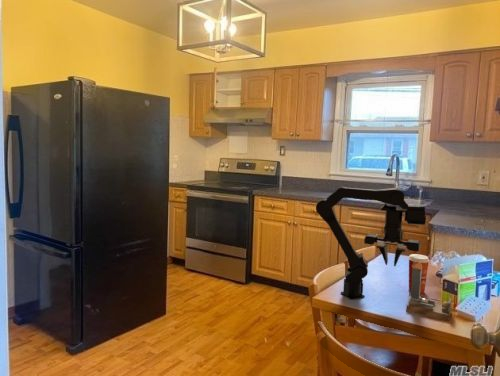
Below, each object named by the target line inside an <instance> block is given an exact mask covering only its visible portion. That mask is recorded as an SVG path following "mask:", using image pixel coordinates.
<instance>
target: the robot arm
mask: <svg viewBox="0 0 500 376" xmlns="http://www.w3.org/2000/svg"><path fill="white" fill-rule="evenodd" d="M343 199H353V200H354V199H355V200H366V201H367V200H368V201H376V202H381V203H383V205H382V206H380V208H379V209H380V211H385V216H384V217H385V218H384V227H383V237H380V236H379V234H373V233H368V234H367V235H366V236H365V237H364V239H363V240H364V241H363V243H364V244H365V245H371V246H372V245H374V244H375V243H377V245H376V248H378V249H379V251H380V254H381V255H382V258H383V261H384V264H385V266H387V265H388V263H389V257H388V255H389V254H388V248H389V245H392V246H397V248H396V249H395V255H394V261H393V267H396V266H397V263H398V261H399V260H400V257H401V255H402V253H406V251H407V250H408V251H412V252H420V250H421V249H422V242H421V240H417V239H408V240H407V241H405V240H403V239H404V230H403V222H406V224H407V225H413V226H414V225H415V226H425V225H426V222H427V221H426V220H427V215H426V207H425V205H409V203H408V202H406V201H405V194H404V192H403V191H401V189H400V188H397V187H391V188H390V187H389V188H382V189H369V188H359V187H357V188H356V187H345V186H339V187H337V189H336V190H335V191H333V192H332V193H331V194H330V195H328V197H326V198H324V197H323V198H320V199H319V200H318V202H317V203H316V206H315V210H316V213H317V215H319V216H320V218H322V220H323V221H324V222H325V223H326V224H327V225H328V227H329V228H330V230H331V233H332V234H333V235H334V237H335V239H336V241H337V243H338V245H339V246H340V247H341V250H342V251H343V253H344V255H345V256H346V259H347V263H348V266H349V267H348V268H347V269H345V277H344V279H343V291H340V294H341V295H343V296H345V297H347V298H348V299H350V300H355V299H361V298H365V296H366V295H364V292H363V291H364V282H363V281H364V280H363V279H364V278H366V277H367V276H368V272H369V271H368V267H369V264H368V263H369V262H368V260H366V258H365V256H364V254H363V252H361V253H359V252H357V251H356V249H355V247H354V245H353V244H352V242H351V240H350V238H349V237H348V235H347V234H346V232H345V229H344V228H343V226H342V225H341V223H340V222H339V220H338V217H337V213H336V210H335V206H336V205H337V204H338V203H339V202H340V201H342V200H343ZM397 206H398V207H399V208H397Z"/></svg>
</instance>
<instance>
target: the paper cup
mask: <svg viewBox="0 0 500 376" xmlns="http://www.w3.org/2000/svg"><path fill="white" fill-rule="evenodd" d="M414 262H420V263H421V264H422V273H421V287H420V295H421V294H422V295H423V294H425V290H426V285H427V279H428V278H427V277H428V270H429V263H430V257H428V256H427V255H425V254H419V253H417V254H416V253H413V254H412V253H411V254H409V256H408V291H409V292H410V293H411V283H412V269H413V267H412V265H413V263H414Z"/></svg>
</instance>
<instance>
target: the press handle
mask: <svg viewBox="0 0 500 376" xmlns="http://www.w3.org/2000/svg"><path fill="white" fill-rule="evenodd" d="M412 267H413V269H412V283H411V292H410V295H409V300H412V301H416V302H421V303H426V304H428V302H429V300H430V299H428V298H423V297H421V294H420V287H421V273H422V264H421V263H420V262H414V263H413V265H412ZM409 300H408V301H409Z"/></svg>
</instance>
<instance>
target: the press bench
mask: <svg viewBox="0 0 500 376" xmlns="http://www.w3.org/2000/svg"><path fill="white" fill-rule="evenodd" d="M452 298H453V297H449V299H448V301H443V302H442V303H441V304H439V303H436V300H433V299H429V302H428V304H426V303H421V302H416V301H412V300H408V302H407V304H406V308H405V312H407V313H411V314H412V313H413V314H417V315H421V316H425V317H430V318H434V319H439V320H441V321H442V320H444V321H447V322H448V321H449V322H450V317H451V314H452V313H451V312H452Z"/></svg>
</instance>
